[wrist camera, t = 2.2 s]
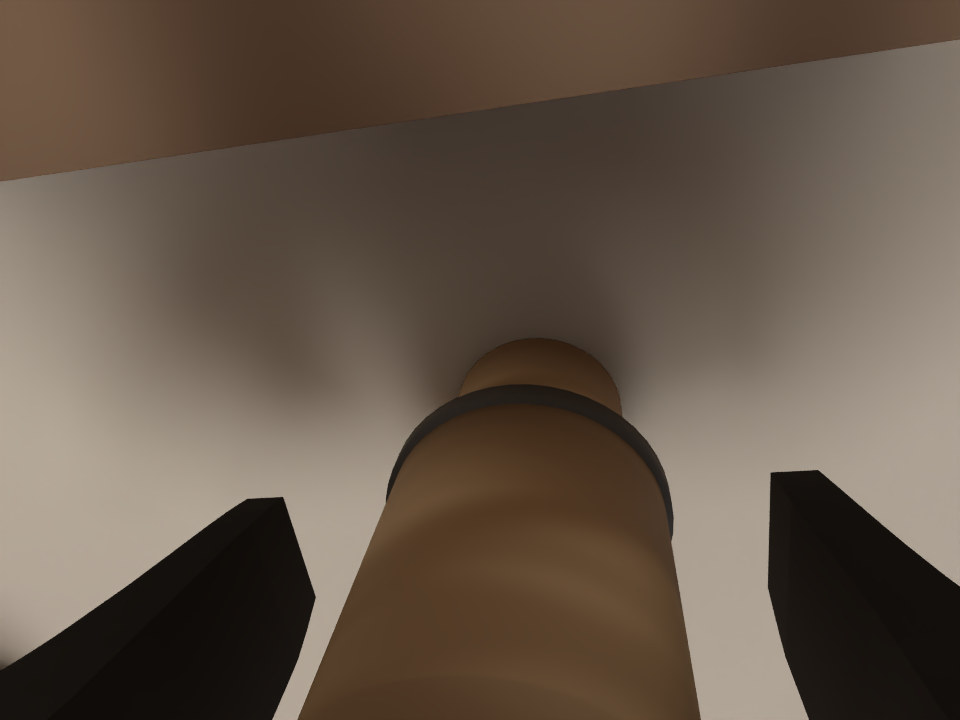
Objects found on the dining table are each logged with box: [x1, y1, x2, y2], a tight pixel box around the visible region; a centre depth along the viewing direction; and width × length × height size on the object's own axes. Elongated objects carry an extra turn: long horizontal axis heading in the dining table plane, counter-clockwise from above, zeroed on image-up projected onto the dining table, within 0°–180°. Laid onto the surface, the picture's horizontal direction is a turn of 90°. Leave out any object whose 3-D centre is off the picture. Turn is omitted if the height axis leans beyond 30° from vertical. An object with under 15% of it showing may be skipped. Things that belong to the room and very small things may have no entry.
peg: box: [298, 338, 701, 720], centre depth 10 cm, size 4×4×8 cm
